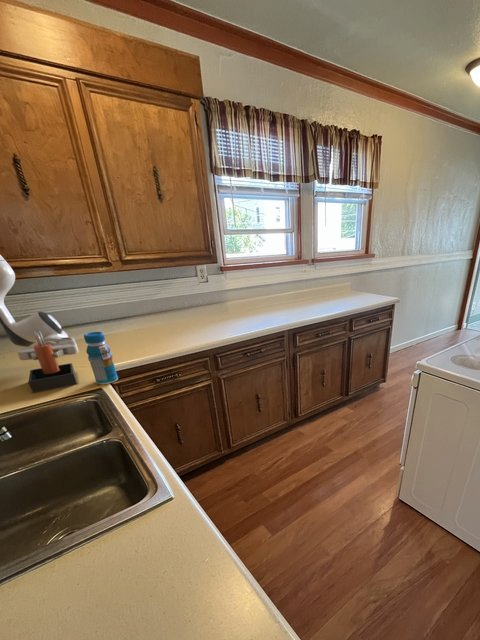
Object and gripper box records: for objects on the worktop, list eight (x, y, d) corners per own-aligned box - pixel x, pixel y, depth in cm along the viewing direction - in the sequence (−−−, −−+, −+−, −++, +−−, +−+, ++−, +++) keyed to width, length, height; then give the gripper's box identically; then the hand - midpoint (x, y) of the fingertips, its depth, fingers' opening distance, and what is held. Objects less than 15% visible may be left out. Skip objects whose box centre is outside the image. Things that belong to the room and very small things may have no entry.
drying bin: (32, 392, 125) (28, 381, 123) (34, 380, 136) (30, 370, 134) (77, 383, 133) (73, 373, 131) (75, 372, 143) (71, 363, 141)
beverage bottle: (94, 386, 130) (79, 337, 121) (97, 378, 137) (82, 332, 128) (118, 383, 133) (104, 335, 124) (119, 375, 140) (106, 330, 131)
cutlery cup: (43, 375, 129) (26, 333, 121) (43, 370, 133) (27, 330, 125) (60, 371, 132) (45, 331, 124) (59, 367, 136) (45, 328, 128)
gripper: (20, 343, 135) (9, 352, 123) (77, 337, 142) (72, 345, 131) (26, 357, 138) (16, 368, 126) (82, 350, 145) (77, 360, 134)
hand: (45, 356), depth 129 cm, fingers closed on cutlery cup, 5 cm apart
